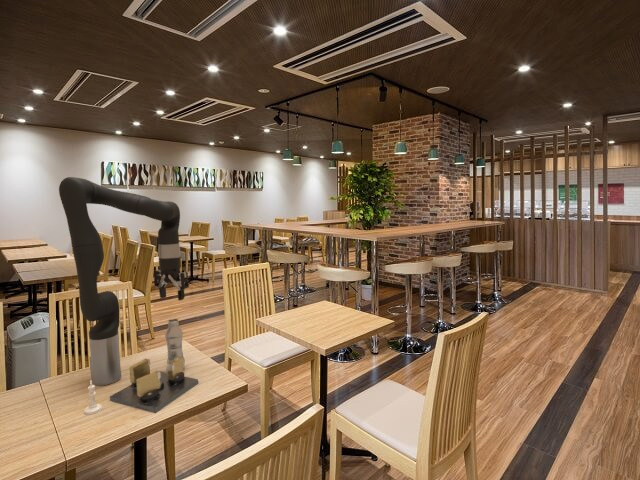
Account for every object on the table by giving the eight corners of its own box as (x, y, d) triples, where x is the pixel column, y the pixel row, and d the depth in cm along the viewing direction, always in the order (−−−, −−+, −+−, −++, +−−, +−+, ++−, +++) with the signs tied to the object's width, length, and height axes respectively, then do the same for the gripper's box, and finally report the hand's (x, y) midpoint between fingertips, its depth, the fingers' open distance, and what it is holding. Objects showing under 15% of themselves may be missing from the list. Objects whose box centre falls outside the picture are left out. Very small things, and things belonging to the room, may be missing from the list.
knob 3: (174, 375, 137) (173, 356, 137) (188, 376, 136) (187, 356, 136) (163, 384, 130) (162, 364, 130) (177, 386, 129) (176, 365, 129)
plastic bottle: (179, 373, 143) (176, 323, 140) (163, 372, 144) (160, 322, 142) (188, 366, 149) (185, 318, 147) (173, 364, 150) (170, 317, 148)
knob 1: (138, 389, 128) (137, 368, 127) (126, 386, 130) (125, 366, 129) (155, 379, 134) (153, 360, 133) (143, 377, 136) (142, 357, 135)
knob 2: (144, 404, 118) (142, 382, 117) (134, 399, 121) (133, 377, 120) (164, 394, 124) (163, 373, 123) (154, 390, 127) (153, 369, 126)
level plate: (109, 400, 124) (108, 392, 124) (155, 374, 143) (155, 367, 142) (155, 412, 116) (155, 404, 116) (198, 383, 135) (198, 376, 135)
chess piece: (83, 416, 115) (80, 385, 114) (85, 408, 119) (82, 379, 118) (101, 411, 117) (99, 382, 116) (102, 404, 122) (100, 375, 121)
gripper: (146, 256, 135) (149, 299, 137) (177, 258, 130) (179, 303, 132) (162, 253, 142) (165, 294, 144) (192, 255, 137) (194, 297, 139)
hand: (172, 298), depth 138 cm, fingers open, 8 cm apart
